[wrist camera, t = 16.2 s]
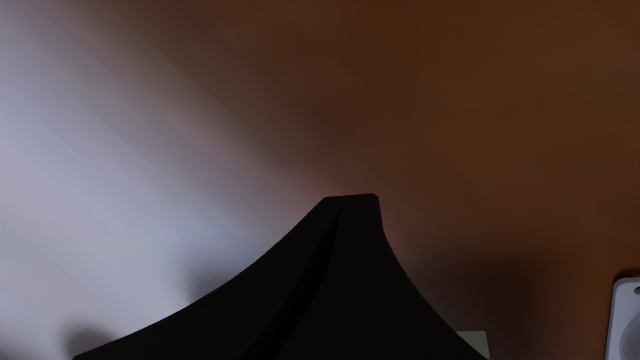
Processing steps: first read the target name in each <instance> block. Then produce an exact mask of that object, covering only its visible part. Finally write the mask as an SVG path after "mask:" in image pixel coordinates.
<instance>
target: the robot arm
mask: <svg viewBox="0 0 640 360" xmlns="http://www.w3.org/2000/svg"><path fill="white" fill-rule="evenodd" d="M639 286H640V277H636V278H622V279H620V280H618V281H617V282H616V283H615V284H614V287H613V295H612V304H611V312H610V320H609V329H608V337H607V345H606V354H605V360H640V289H635V288H637V287H639ZM72 360H488V359H487V358H485V357H484V356H483V355H482V354H480V353H479V352H478V351H477V350H476V349H474V348H473V347H472V346H471V345H470V344H469V343H467V342H466V341H465V340H464V339H463V338H462V337H461V336H459V335H458V334H457V333H456V332H455V331H454V330H453V329H452V328H451V327H450V326H449V325H448V324H447V323H446V322H445V321H444V320H443V319H442V318H441V317H440V316H439V315H438V313H437V312H436V311H435V310H434V309H433V308H432V307H431V305H430V304H429V303H428V302H427V301H426V300H425V299H424V298H423V296H422V295H421V294H420V293H419V291H418V290H417V289H416V287H415V286H414V285H413V283H412V282H411V281H410V279H409V278H408V276H407V275H406V273H405V272H404V270H403V269H402V267H401V265H400V264H399V262H398V260H397V258H396V257H395V255H394V253H393V251H392V249H391V247H390V245H389V243H388V241H387V238H386V236H385V233H384V231H383V225H382V218H381V211H380V205H379V198H378V197H377V196H376V195H375V194H374V193H370V194H358V195H345V196H333V197H325V198H323V199H322V200H321V201H320V202H319V203H318V204H317V205H316V206H315V207H314V208H313V209H312V210H311V211H310V212H309V213H308V214H307V215H306V216H305V217H304V218H303V219H302V220H301V221H300V222H299V223H298V224H297V225H296V226H295V227H294V228H293V229H292V230H290V231H289V232H288V233H287V234H286V235H285V236H284V237H283V238H282V239H281V240H280V241H279V242H277V243H276V244H275V245H274V246H273V247H272V248H270V249H269V250H268V251H267V252H266V253H265V254H264V255H262V256H261V257H260V258H259V259H258V260H256V261H255V262H254V263H253V264H251V265H250V266H249V267H247V268H246V269H245V270H244V271H242V272H241V273H239V274H238V275H236V276H235V277H234V278H232V279H231V280H229V281H228V282H226V283H225V284H223V285H222V286H220V287H219V288H217V289H215V290H214V291H212V292H210V293H209V294H207V295H205V296H204V297H202V298H200V299H199V300H197V301H195V302H194V303H192V304H190V305H189V306H187V307H185V308H183V309H181V310H179V311H178V312H176V313H174V314H172V315H170V316H168V317H166V318H164V319H162V320H160V321H158V322H156V323H154V324H151V325H149V326H147V327H145V328H143V329H141V330H139V331H136V332H134V333H132V334H130V335H127V336H125V337H122V338H120V339H117V340H115V341H112V342H110V343H107V344H105V345H102V346H100V347H97V348H95V349H92V350H90V351H87V352H85V353H82V354H79V355H76V356H75V357H74V358H73V359H72Z"/></svg>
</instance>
